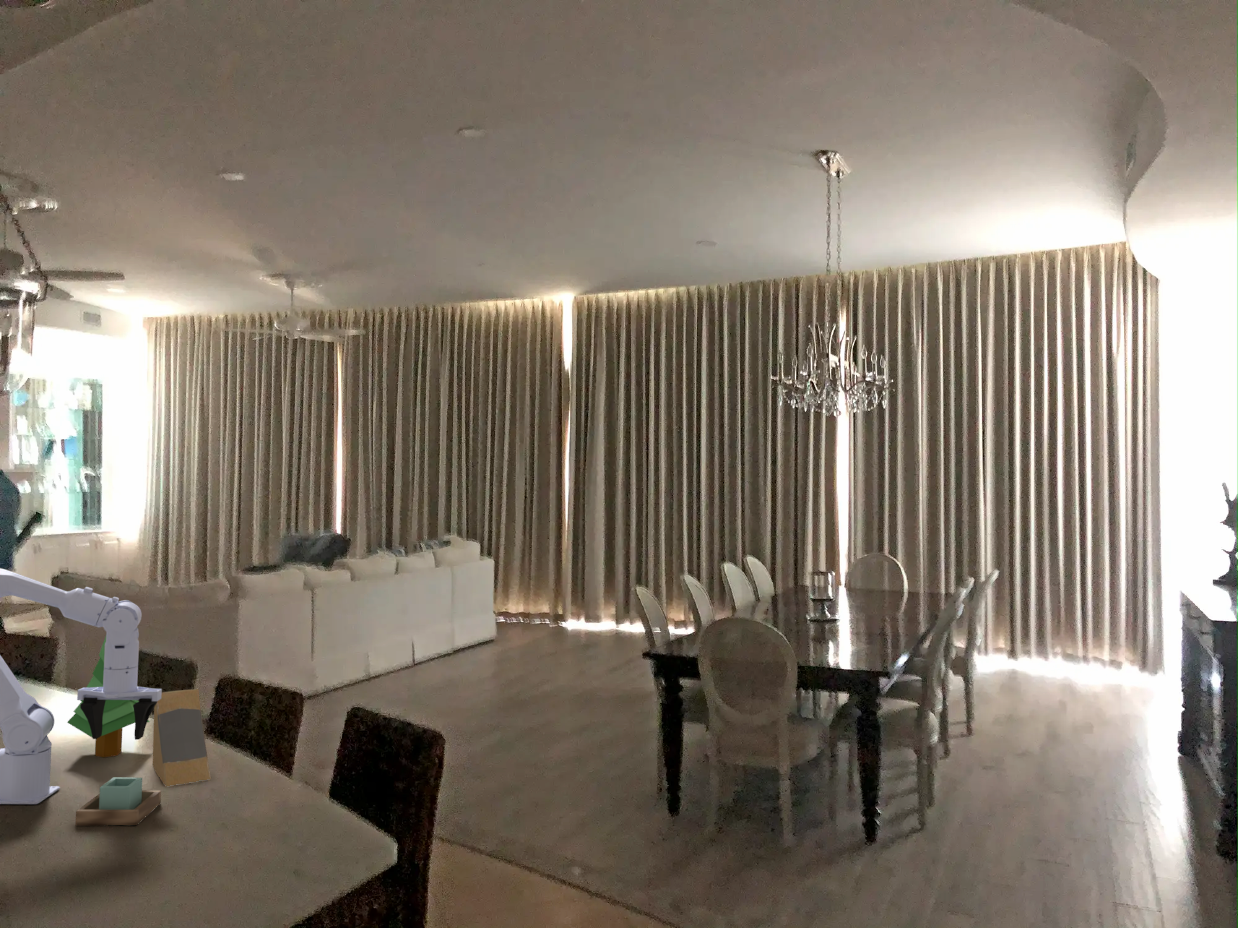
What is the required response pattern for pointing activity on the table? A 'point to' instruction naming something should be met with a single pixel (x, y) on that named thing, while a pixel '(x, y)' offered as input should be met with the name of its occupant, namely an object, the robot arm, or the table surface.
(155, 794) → the walnut crate
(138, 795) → the box
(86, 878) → the table surface
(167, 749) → the sandwich container
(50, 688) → the table surface
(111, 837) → the table surface
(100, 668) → the decorative tree
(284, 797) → the table surface
